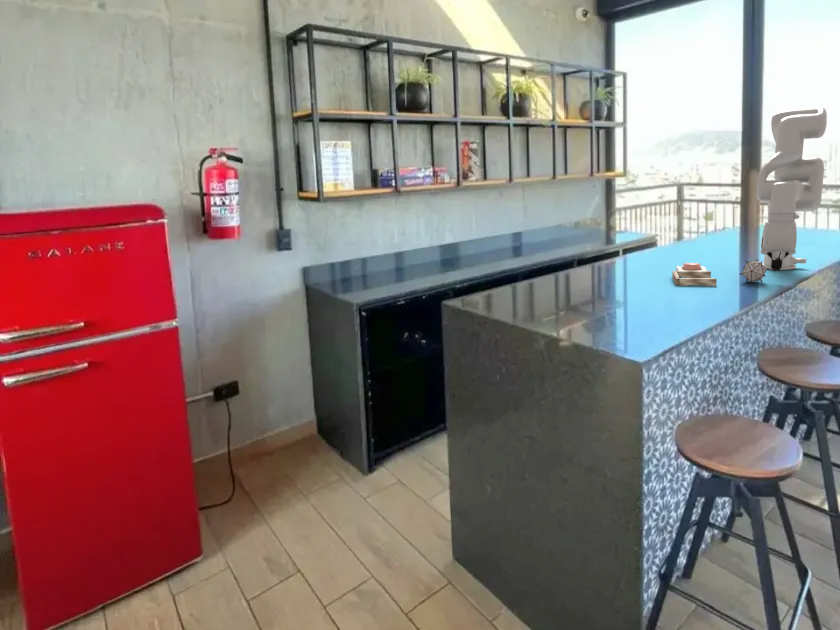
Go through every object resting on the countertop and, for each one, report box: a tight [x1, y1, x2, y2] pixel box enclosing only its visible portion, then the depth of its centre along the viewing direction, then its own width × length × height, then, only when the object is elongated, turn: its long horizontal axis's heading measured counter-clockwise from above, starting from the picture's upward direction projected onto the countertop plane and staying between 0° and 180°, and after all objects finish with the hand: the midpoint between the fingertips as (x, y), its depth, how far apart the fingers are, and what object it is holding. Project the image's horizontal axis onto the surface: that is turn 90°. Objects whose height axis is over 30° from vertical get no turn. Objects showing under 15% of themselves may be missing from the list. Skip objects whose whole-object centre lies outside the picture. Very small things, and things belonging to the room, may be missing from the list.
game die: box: [739, 259, 770, 284], centre depth 208 cm, size 9×8×10 cm
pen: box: [671, 270, 718, 287], centre depth 215 cm, size 13×15×2 cm
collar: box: [675, 265, 708, 271], centre depth 226 cm, size 10×10×2 cm
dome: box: [682, 262, 701, 270], centre depth 226 cm, size 6×6×3 cm
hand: (775, 270), depth 206 cm, fingers closed
